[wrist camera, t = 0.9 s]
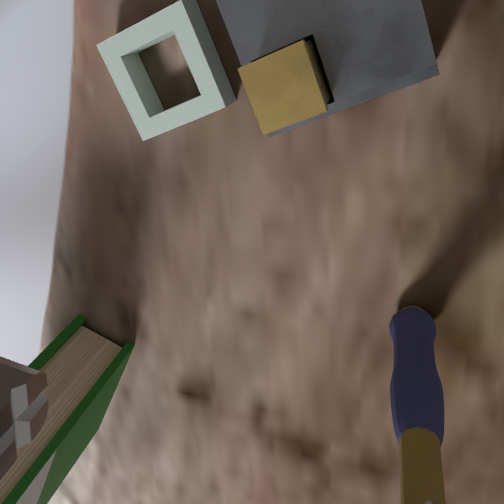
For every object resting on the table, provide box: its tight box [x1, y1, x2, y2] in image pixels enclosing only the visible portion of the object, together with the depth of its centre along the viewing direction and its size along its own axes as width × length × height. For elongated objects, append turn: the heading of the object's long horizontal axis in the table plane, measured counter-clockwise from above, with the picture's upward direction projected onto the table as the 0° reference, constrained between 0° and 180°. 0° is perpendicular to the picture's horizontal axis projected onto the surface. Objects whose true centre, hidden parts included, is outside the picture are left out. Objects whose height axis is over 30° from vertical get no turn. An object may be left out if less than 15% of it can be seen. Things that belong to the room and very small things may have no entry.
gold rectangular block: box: [238, 38, 333, 135], centre depth 32 cm, size 4×4×6 cm
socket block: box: [216, 0, 439, 137], centre depth 32 cm, size 12×14×5 cm
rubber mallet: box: [389, 306, 446, 504], centre depth 31 cm, size 12×8×30 cm, turn 80°
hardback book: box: [0, 315, 134, 504], centre depth 50 cm, size 18×7×24 cm, turn 155°
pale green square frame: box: [96, 0, 236, 141], centre depth 38 cm, size 8×8×3 cm
